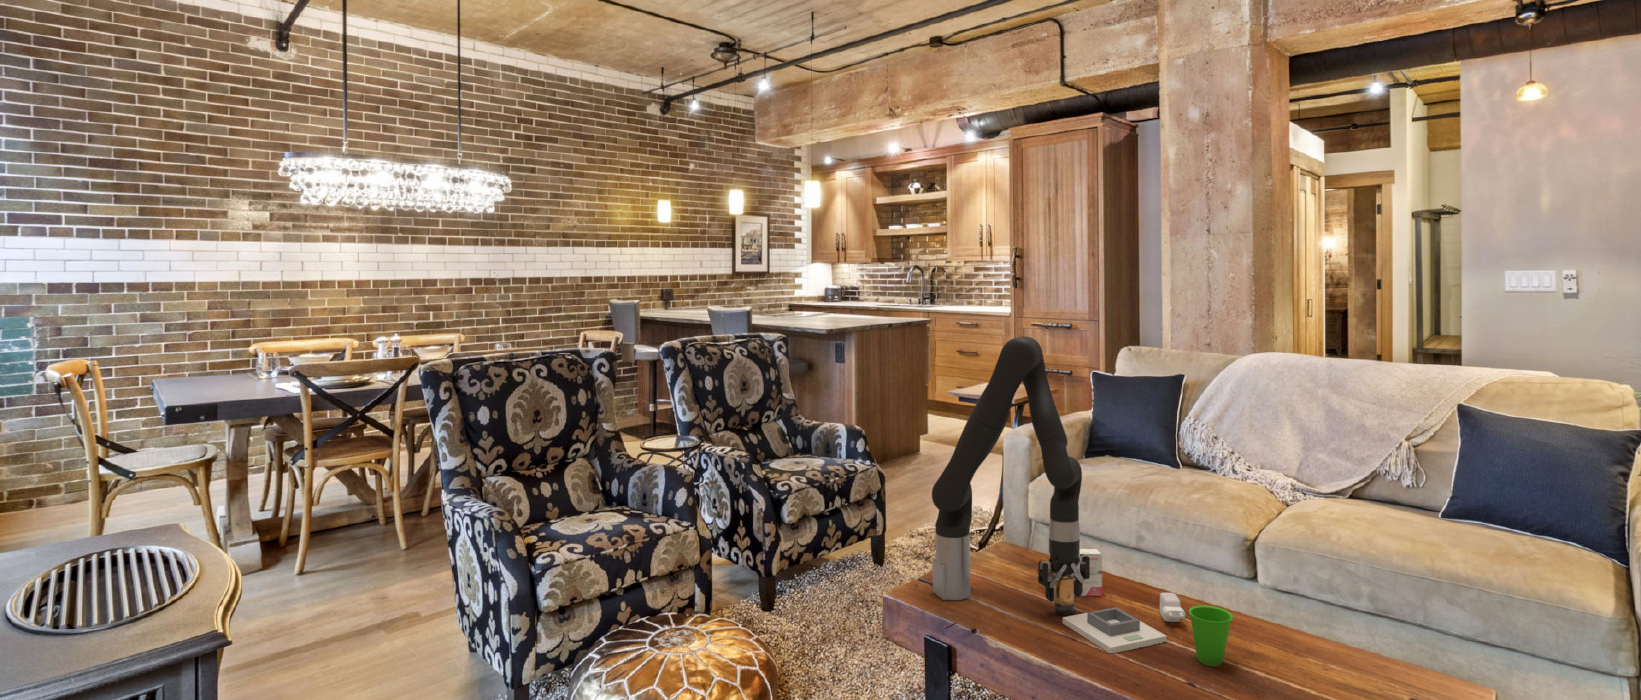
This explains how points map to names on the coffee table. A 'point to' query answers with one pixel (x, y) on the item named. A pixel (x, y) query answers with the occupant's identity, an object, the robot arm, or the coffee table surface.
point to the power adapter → (1171, 607)
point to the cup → (1210, 633)
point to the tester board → (1114, 630)
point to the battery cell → (1064, 596)
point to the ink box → (1092, 573)
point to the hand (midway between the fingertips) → (1064, 598)
